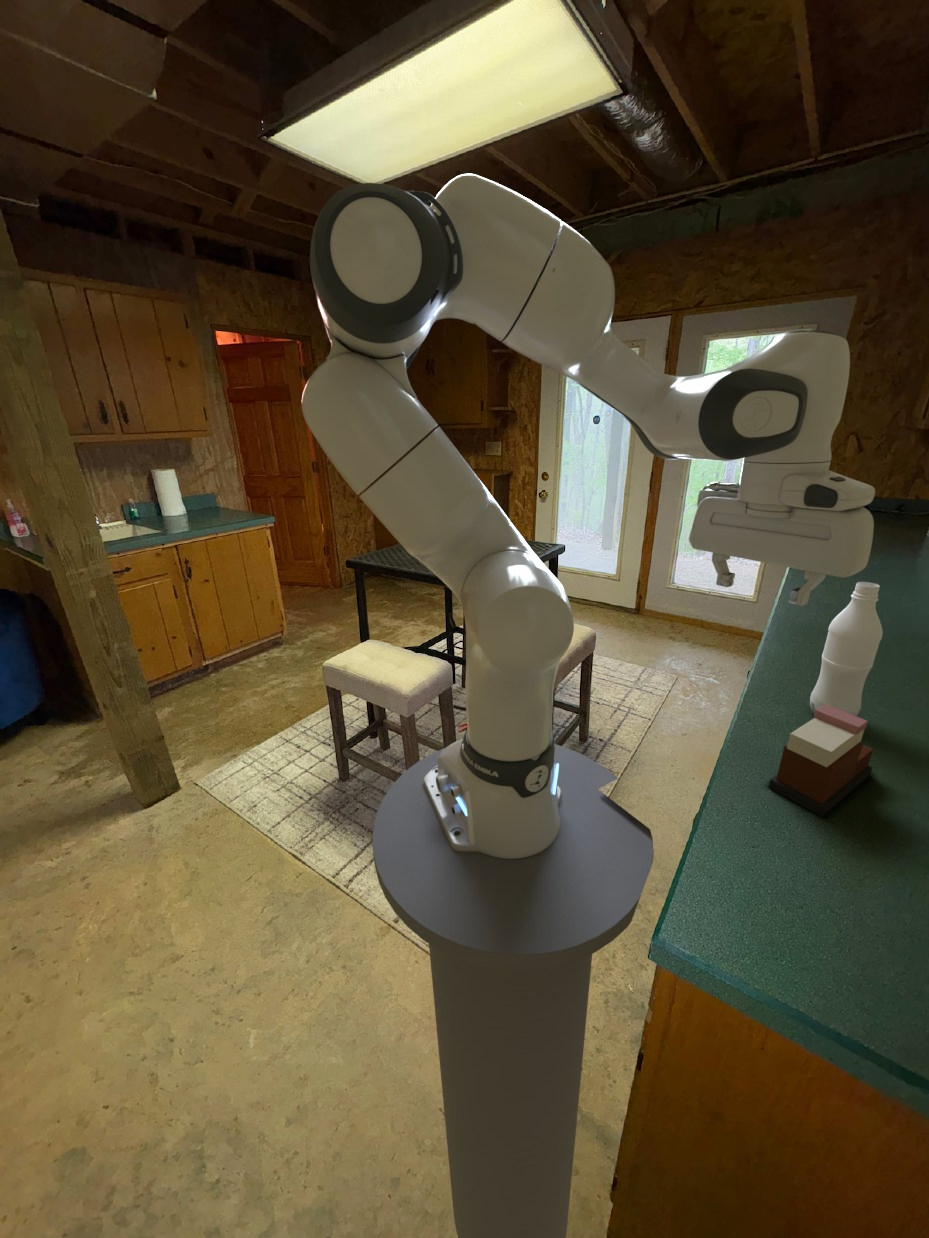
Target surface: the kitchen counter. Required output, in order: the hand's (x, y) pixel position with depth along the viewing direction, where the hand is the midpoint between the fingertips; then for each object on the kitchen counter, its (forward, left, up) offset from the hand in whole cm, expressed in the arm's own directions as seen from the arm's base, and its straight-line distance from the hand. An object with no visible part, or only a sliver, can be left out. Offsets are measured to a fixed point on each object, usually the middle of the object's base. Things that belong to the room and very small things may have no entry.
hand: (758, 594), depth 63 cm
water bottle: (+2, +30, -29) cm, 42 cm away
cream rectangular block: (+9, +8, -22) cm, 25 cm away
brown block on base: (+9, +10, -29) cm, 32 cm away
